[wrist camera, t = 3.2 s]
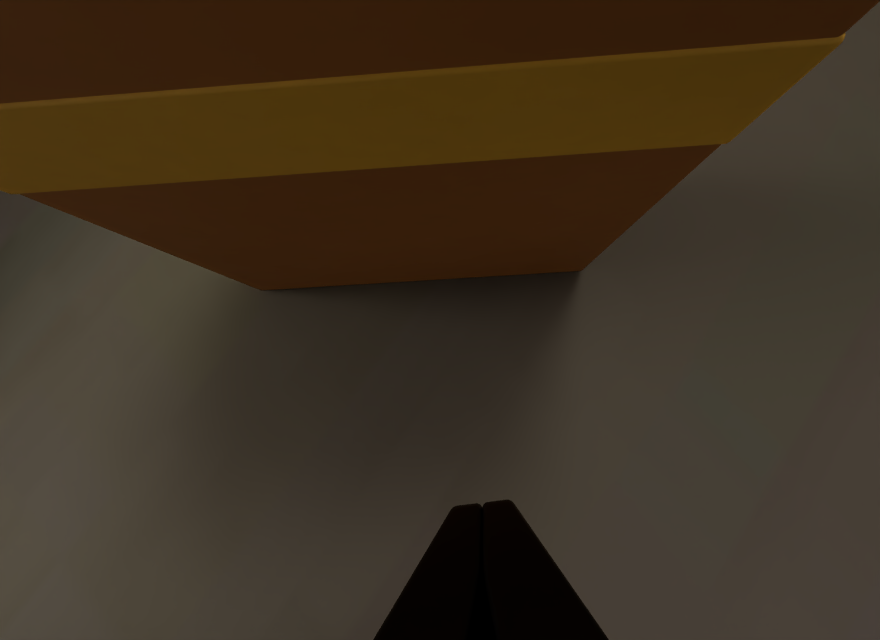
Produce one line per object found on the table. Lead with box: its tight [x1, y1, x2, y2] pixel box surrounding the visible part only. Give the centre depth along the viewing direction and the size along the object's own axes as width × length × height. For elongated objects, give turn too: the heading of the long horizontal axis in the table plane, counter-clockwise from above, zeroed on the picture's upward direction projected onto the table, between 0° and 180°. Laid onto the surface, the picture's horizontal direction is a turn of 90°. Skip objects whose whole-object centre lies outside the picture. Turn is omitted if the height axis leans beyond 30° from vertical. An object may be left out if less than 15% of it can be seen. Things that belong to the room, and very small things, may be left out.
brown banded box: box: [0, 0, 880, 290], centre depth 12 cm, size 4×12×17 cm, turn 93°
